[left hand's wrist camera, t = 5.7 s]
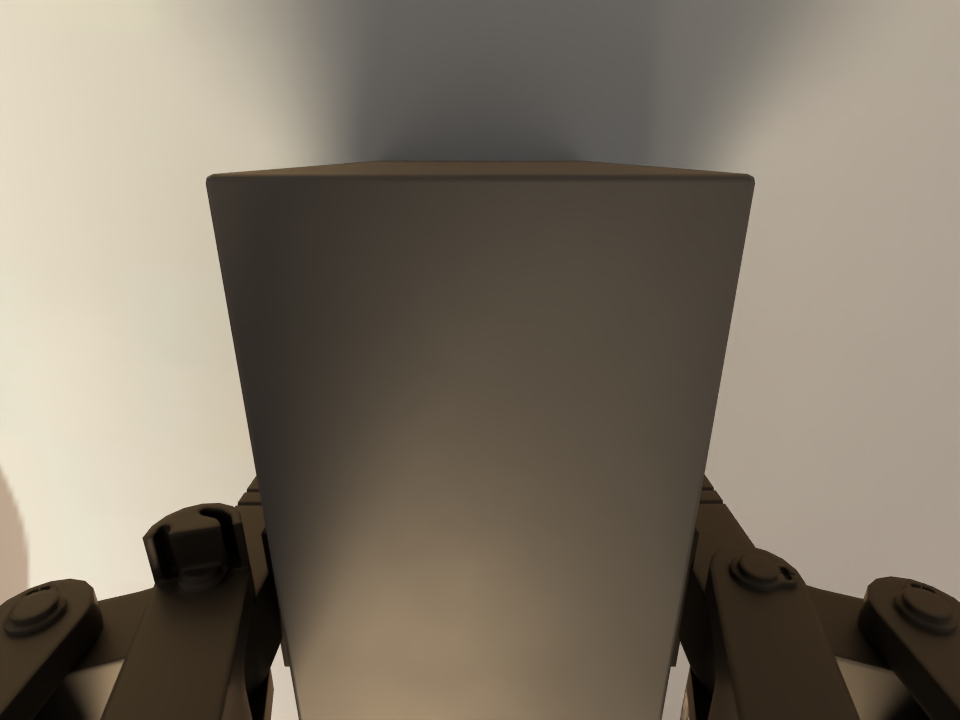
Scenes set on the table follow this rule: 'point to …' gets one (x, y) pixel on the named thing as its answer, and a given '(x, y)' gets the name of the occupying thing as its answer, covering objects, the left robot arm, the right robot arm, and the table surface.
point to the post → (480, 423)
